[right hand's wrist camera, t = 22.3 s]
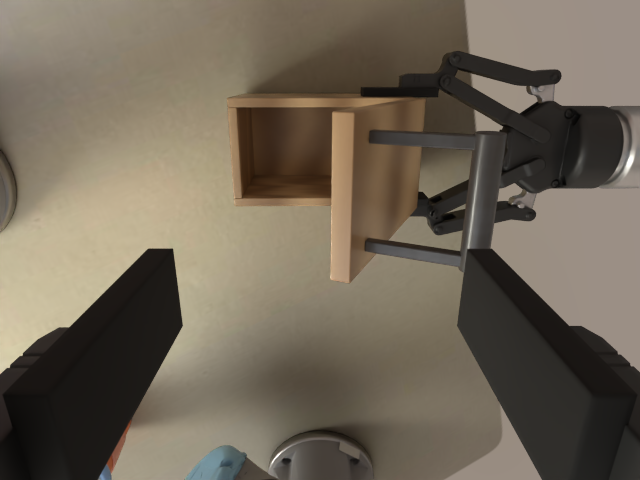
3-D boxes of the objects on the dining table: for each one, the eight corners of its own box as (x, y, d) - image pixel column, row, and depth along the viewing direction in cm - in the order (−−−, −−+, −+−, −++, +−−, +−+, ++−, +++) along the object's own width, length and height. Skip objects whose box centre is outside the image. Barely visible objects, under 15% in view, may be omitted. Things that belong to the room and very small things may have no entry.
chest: (249, 180, 49) (234, 206, 39) (244, 93, 45) (226, 97, 36) (388, 179, 49) (408, 205, 39) (393, 93, 46) (416, 97, 36)
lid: (330, 280, 25) (479, 309, 22) (331, 111, 21) (507, 117, 18) (403, 206, 39) (500, 217, 36) (411, 98, 36) (518, 100, 32)
